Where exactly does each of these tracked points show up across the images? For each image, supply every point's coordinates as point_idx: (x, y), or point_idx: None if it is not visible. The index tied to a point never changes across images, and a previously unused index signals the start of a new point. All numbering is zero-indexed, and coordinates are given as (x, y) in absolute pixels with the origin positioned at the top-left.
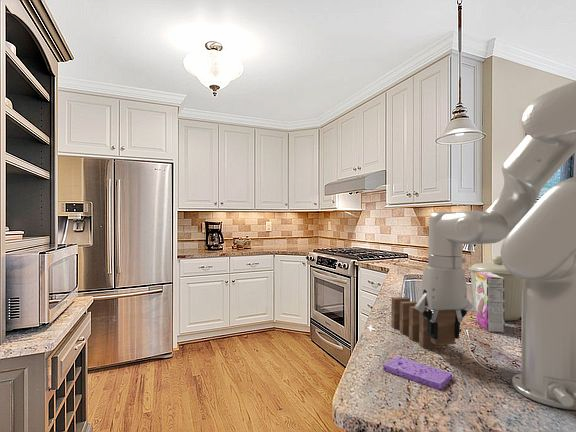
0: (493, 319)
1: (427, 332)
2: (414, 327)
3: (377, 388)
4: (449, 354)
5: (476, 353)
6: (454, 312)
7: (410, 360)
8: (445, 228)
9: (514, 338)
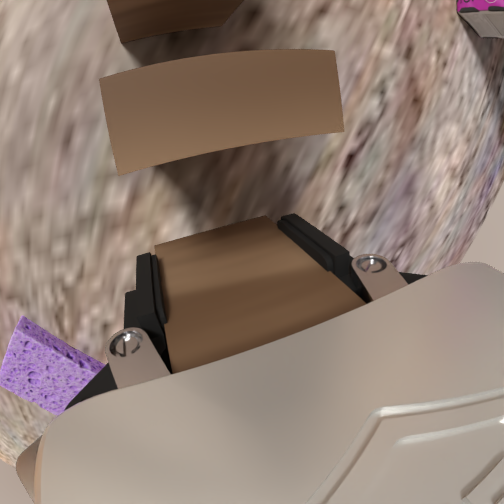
0: (497, 21)
1: (127, 293)
2: (128, 14)
3: (20, 432)
4: (237, 212)
5: (347, 190)
6: None
7: (58, 355)
8: None
9: (482, 78)
